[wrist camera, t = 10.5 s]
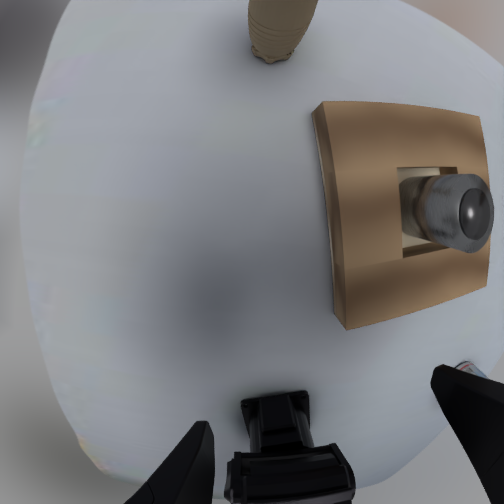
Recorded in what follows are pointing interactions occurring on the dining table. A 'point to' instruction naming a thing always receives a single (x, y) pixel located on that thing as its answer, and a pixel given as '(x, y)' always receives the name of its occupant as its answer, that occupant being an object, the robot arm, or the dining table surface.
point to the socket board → (392, 206)
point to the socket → (447, 210)
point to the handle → (278, 26)
